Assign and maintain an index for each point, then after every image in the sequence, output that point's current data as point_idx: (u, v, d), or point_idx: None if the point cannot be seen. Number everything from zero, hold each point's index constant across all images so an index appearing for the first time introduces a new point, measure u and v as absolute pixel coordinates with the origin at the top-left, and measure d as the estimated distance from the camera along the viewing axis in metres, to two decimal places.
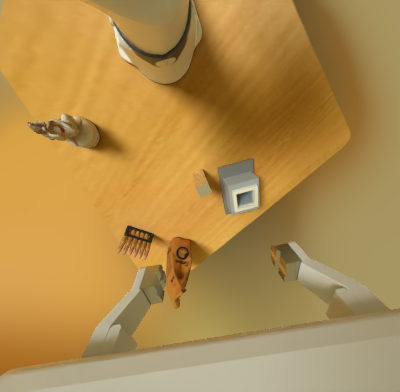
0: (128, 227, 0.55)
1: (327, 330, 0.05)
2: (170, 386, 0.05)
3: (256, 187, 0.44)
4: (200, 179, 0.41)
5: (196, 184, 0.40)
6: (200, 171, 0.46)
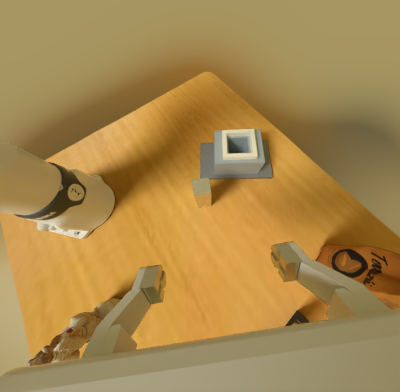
0: None
1: (327, 330, 0.05)
2: (170, 386, 0.05)
3: (223, 131, 0.36)
4: None
5: None
6: None
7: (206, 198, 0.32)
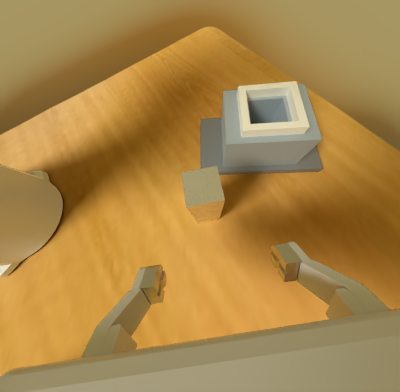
0: None
1: (327, 330, 0.05)
2: (170, 386, 0.05)
3: (241, 88, 0.20)
4: None
5: None
6: None
7: (212, 210, 0.16)
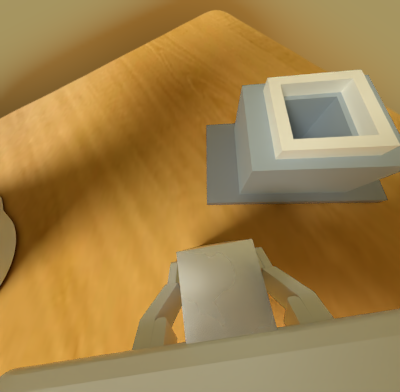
0: None
1: (327, 330, 0.05)
2: (170, 386, 0.05)
3: (272, 80, 0.13)
4: None
5: None
6: None
7: None
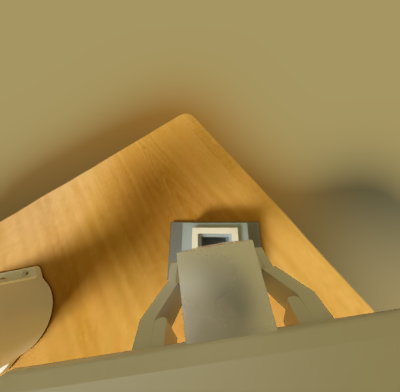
0: None
1: (327, 330, 0.05)
2: (170, 386, 0.05)
3: (194, 230, 0.25)
4: None
5: None
6: None
7: None
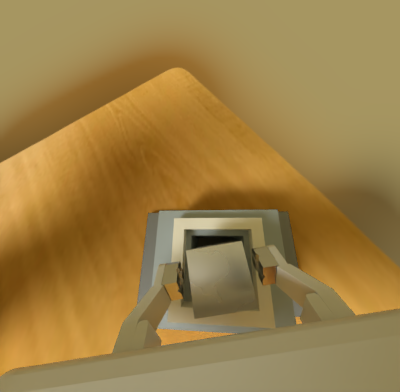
0: None
1: (327, 330, 0.05)
2: (170, 386, 0.05)
3: (178, 222, 0.13)
4: None
5: None
6: None
7: None
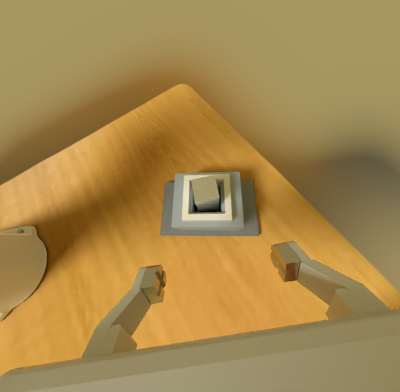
0: None
1: (327, 330, 0.05)
2: (170, 386, 0.05)
3: (186, 177, 0.25)
4: None
5: None
6: None
7: (211, 204, 0.23)
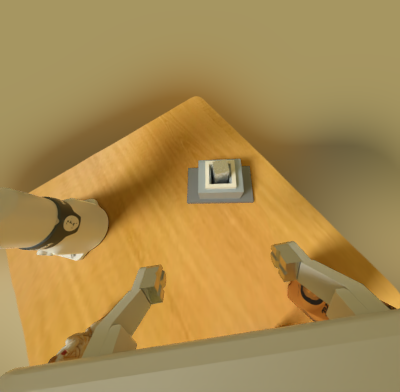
0: None
1: (327, 330, 0.05)
2: (170, 386, 0.05)
3: (206, 162, 0.39)
4: (213, 173, 0.38)
5: (214, 175, 0.36)
6: (213, 180, 0.44)
7: (224, 178, 0.37)
